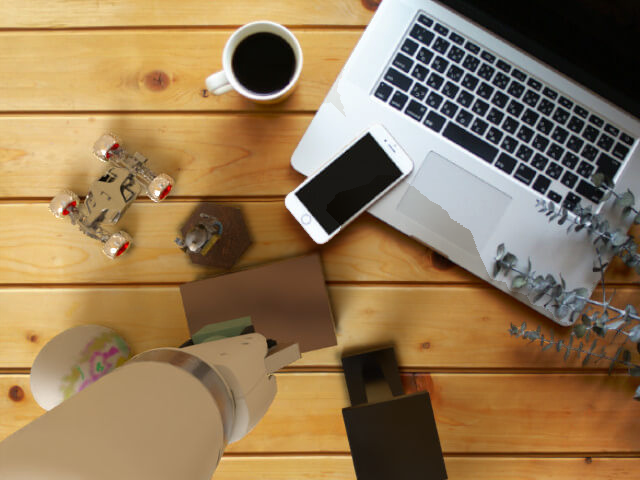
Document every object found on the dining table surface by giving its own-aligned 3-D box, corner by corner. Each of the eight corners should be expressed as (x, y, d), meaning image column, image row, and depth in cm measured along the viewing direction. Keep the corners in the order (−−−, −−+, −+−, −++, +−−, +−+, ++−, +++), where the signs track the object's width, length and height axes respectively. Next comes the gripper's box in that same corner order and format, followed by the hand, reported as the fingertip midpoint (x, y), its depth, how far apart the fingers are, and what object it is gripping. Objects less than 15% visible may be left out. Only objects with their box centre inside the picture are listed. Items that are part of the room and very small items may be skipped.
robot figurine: (217, 187, 78) (198, 178, 66) (265, 227, 78) (253, 225, 66) (170, 243, 78) (142, 244, 66) (217, 283, 78) (197, 291, 66)
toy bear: (259, 356, 49) (245, 382, 41) (214, 366, 49) (190, 394, 41) (250, 315, 49) (234, 332, 41) (204, 325, 49) (179, 344, 41)
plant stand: (408, 399, 78) (448, 479, 52) (349, 412, 78) (360, 498, 52) (395, 340, 78) (429, 392, 52) (336, 353, 78) (341, 411, 52)
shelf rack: (336, 329, 78) (337, 345, 67) (217, 356, 78) (198, 375, 67) (318, 252, 78) (317, 254, 67) (199, 278, 78) (178, 285, 67)
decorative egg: (132, 408, 79) (86, 449, 64) (54, 389, 79) (-10, 424, 64) (151, 330, 79) (110, 352, 64) (73, 310, 79) (14, 327, 64)
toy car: (120, 260, 79) (105, 262, 73) (57, 212, 79) (38, 210, 74) (180, 181, 78) (170, 177, 73) (117, 133, 78) (102, 126, 73)
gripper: (23, 523, 28) (142, 410, 46) (329, 457, 28) (327, 369, 46) (-7, 387, 28) (124, 327, 46) (299, 320, 28) (309, 287, 46)
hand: (225, 349), depth 46 cm, fingers closed on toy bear, 4 cm apart
